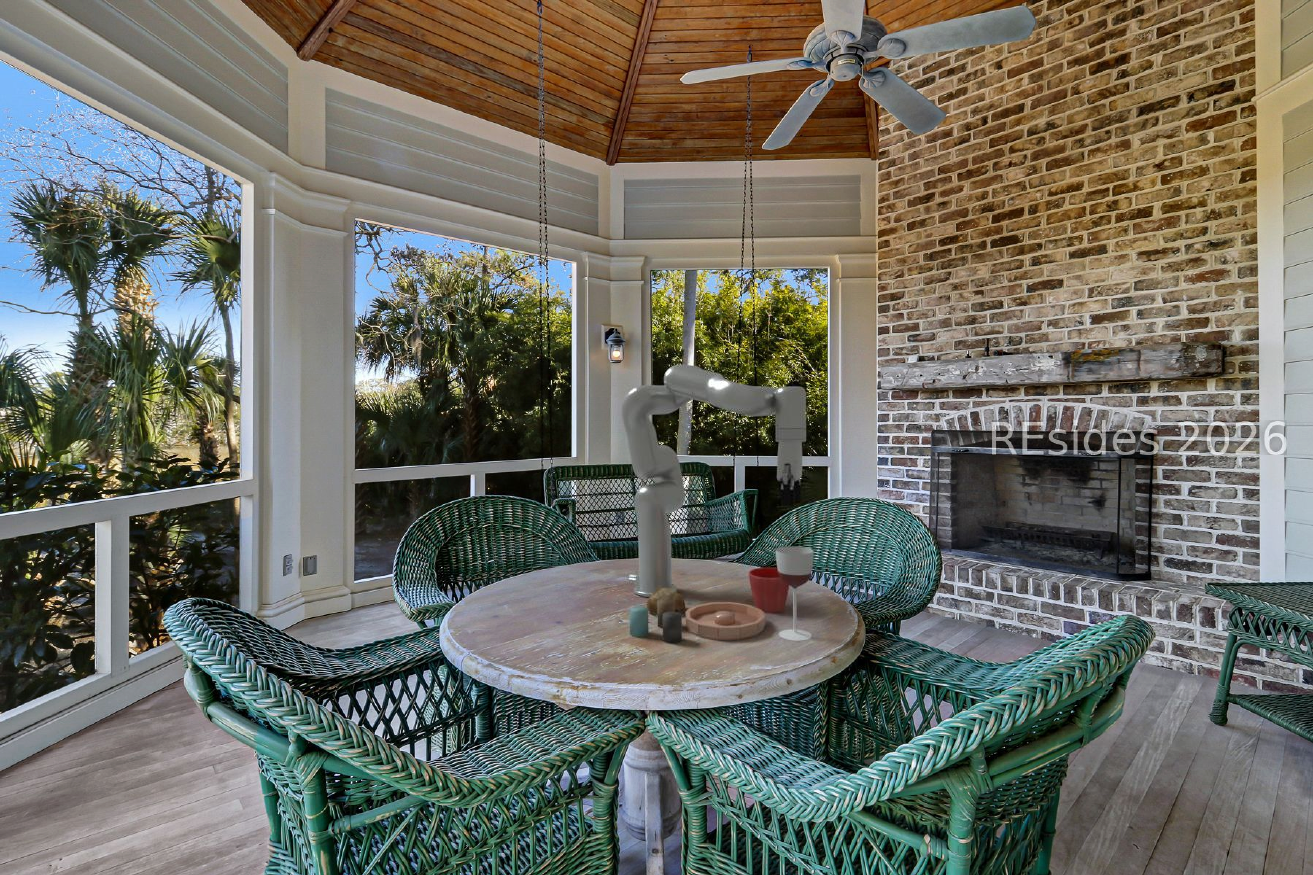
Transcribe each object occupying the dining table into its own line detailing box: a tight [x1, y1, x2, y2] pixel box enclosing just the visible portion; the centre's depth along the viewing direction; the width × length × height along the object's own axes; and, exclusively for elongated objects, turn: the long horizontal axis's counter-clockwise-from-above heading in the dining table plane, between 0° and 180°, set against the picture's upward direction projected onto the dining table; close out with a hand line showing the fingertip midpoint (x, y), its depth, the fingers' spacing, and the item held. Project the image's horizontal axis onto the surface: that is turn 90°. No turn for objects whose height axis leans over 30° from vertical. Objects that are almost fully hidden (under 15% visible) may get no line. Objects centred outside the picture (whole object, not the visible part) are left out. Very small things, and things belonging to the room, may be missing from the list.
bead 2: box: [657, 599, 675, 629], centre depth 160 cm, size 4×4×6 cm
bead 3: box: [662, 612, 683, 644], centre depth 150 cm, size 4×4×6 cm
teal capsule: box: [629, 605, 650, 638], centre depth 155 cm, size 4×4×6 cm
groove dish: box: [685, 601, 766, 641], centre depth 159 cm, size 19×19×3 cm
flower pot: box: [748, 567, 790, 614], centre depth 172 cm, size 11×11×10 cm
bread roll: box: [646, 588, 686, 617], centre depth 171 cm, size 10×10×8 cm
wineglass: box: [775, 546, 814, 642], centre depth 152 cm, size 8×9×20 cm
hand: (791, 502), depth 165 cm, fingers open, 9 cm apart
